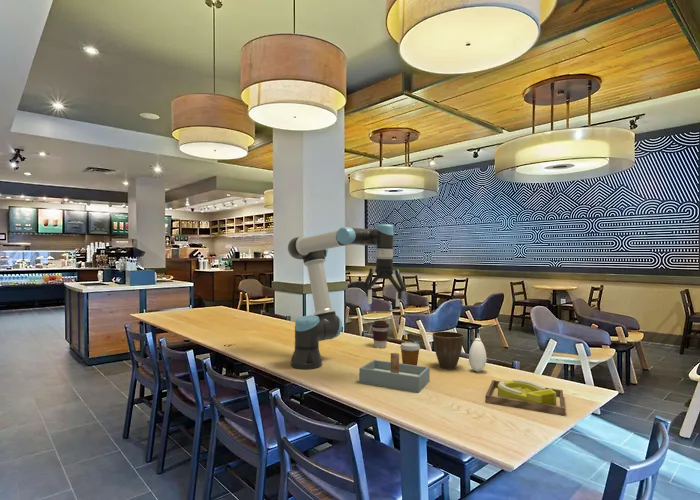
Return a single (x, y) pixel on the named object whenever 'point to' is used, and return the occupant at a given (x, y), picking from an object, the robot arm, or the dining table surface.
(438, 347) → the plant pot
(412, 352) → the disposable coffee cup
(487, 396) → the brown wooden frame
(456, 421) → the dining table surface
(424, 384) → the tray
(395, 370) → the dowel
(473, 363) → the white bulb air blower
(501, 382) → the yellow-green curved block
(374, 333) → the coffee cup
